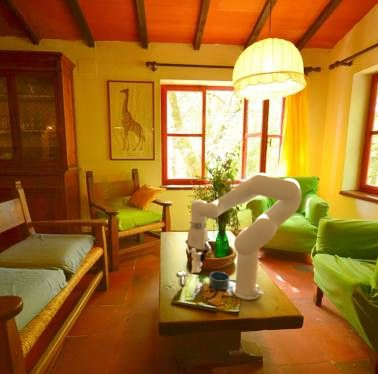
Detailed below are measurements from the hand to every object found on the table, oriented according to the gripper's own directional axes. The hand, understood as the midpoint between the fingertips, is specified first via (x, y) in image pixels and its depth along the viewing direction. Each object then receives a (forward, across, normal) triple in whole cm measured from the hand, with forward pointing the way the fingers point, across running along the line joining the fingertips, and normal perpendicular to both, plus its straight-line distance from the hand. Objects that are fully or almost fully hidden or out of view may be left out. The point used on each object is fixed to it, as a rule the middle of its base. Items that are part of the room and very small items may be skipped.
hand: (197, 258), depth 129 cm
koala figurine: (+7, 0, 0) cm, 7 cm away
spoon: (+12, -7, -3) cm, 14 cm away
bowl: (+12, +11, +4) cm, 17 cm away
